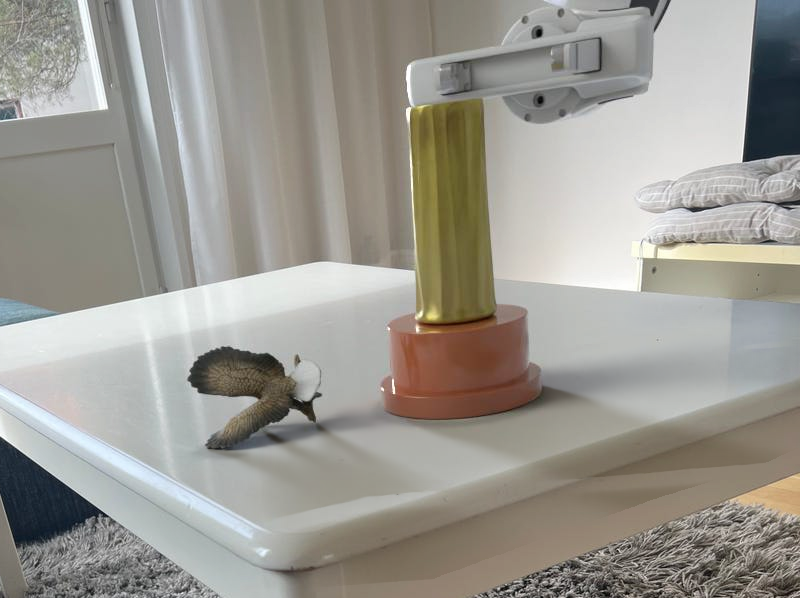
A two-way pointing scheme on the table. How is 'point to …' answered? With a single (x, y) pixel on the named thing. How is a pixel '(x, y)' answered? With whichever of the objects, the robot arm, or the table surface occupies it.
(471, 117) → the vase
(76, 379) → the table surface
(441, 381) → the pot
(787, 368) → the table surface
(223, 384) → the eagle figurine
